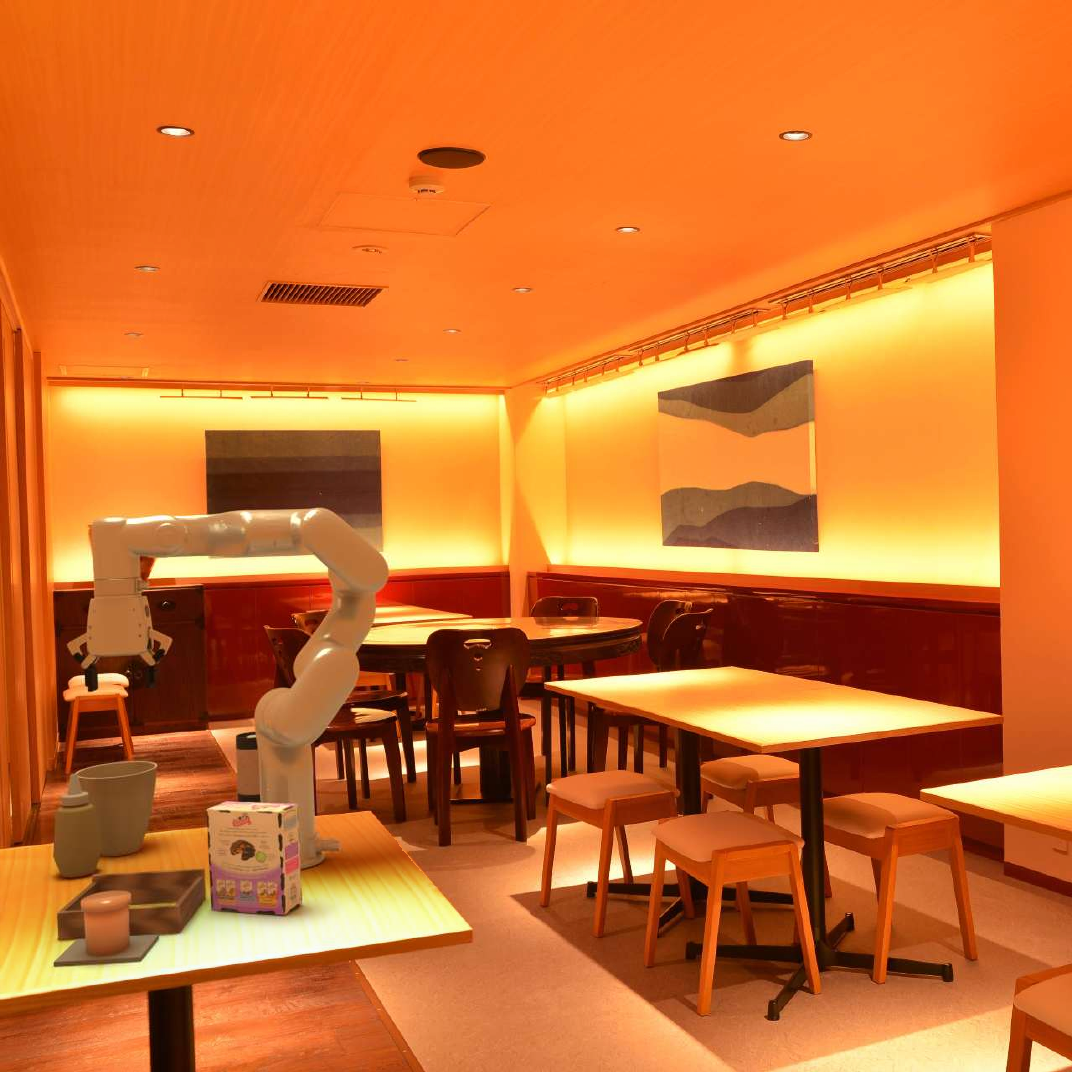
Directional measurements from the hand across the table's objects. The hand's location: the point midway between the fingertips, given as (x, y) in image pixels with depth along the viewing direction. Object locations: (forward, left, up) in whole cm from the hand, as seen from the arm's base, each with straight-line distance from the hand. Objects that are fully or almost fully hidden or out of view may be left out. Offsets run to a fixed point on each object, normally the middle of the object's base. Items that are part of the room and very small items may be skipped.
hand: (121, 689), depth 191 cm
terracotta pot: (-6, +29, -34) cm, 45 cm away
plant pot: (+10, -26, -34) cm, 44 cm away
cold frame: (-6, +15, -34) cm, 38 cm away
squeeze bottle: (+13, -12, -34) cm, 39 cm away
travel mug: (-15, -34, -34) cm, 51 cm away
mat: (-6, +30, -34) cm, 46 cm away
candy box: (-24, +13, -35) cm, 44 cm away
